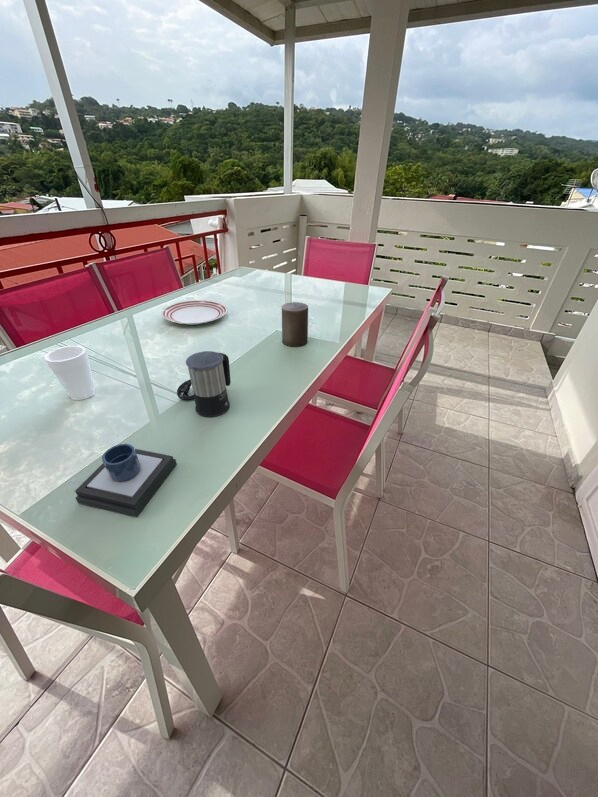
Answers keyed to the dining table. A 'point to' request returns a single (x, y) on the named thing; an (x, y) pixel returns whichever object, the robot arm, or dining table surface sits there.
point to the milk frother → (207, 383)
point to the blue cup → (121, 462)
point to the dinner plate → (194, 312)
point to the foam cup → (72, 371)
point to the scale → (121, 502)
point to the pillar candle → (294, 324)
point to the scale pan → (129, 486)
